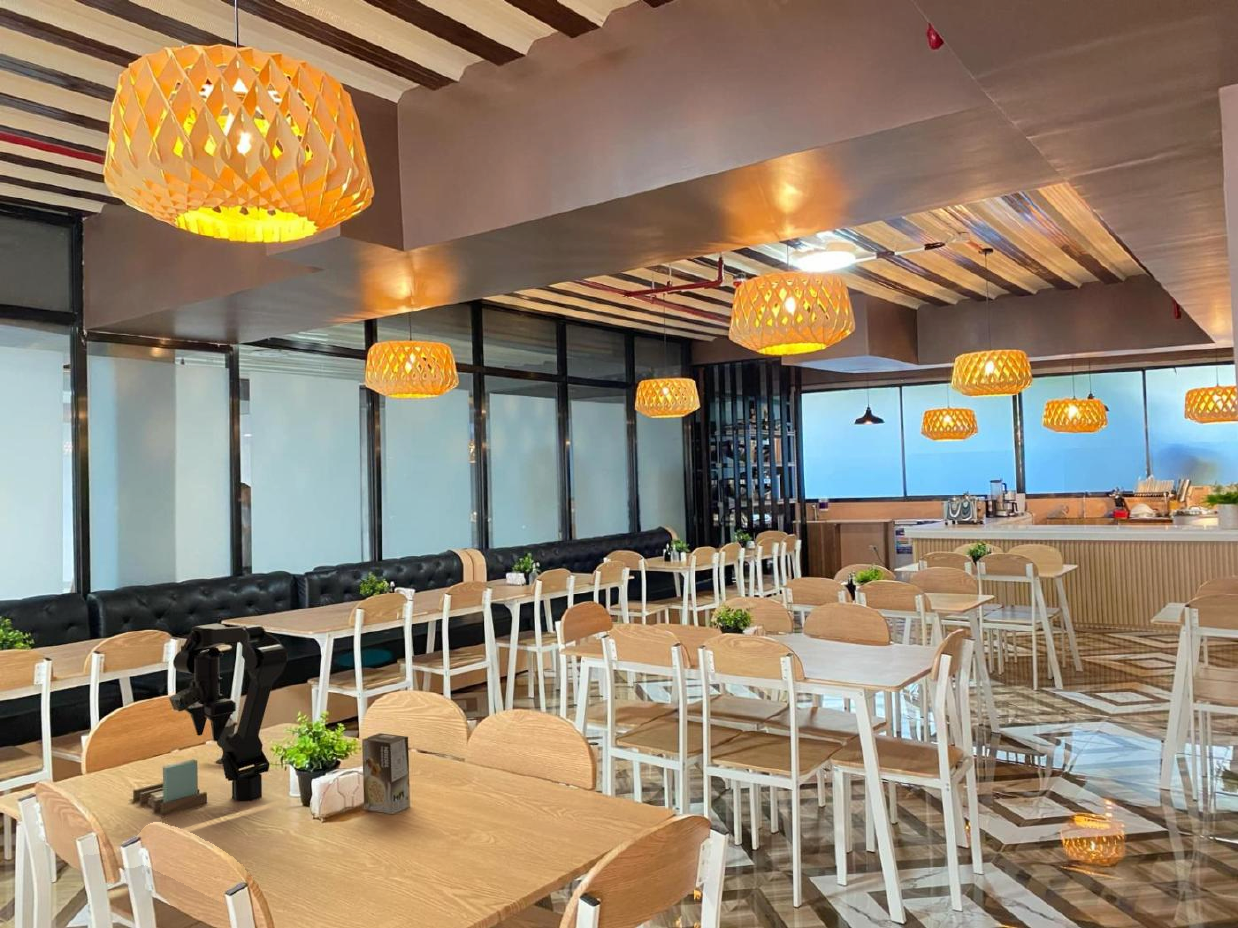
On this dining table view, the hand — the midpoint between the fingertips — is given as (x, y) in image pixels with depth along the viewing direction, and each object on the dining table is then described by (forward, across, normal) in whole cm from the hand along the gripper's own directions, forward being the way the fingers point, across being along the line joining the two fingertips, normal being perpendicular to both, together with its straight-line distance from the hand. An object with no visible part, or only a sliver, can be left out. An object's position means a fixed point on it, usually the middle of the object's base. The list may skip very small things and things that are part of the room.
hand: (207, 737), depth 223 cm
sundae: (+13, -23, +15) cm, 30 cm away
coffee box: (+13, +47, +20) cm, 53 cm away
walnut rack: (+13, +4, -11) cm, 17 cm away
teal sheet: (+12, +10, -11) cm, 19 cm away
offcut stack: (+12, +4, -11) cm, 17 cm away
